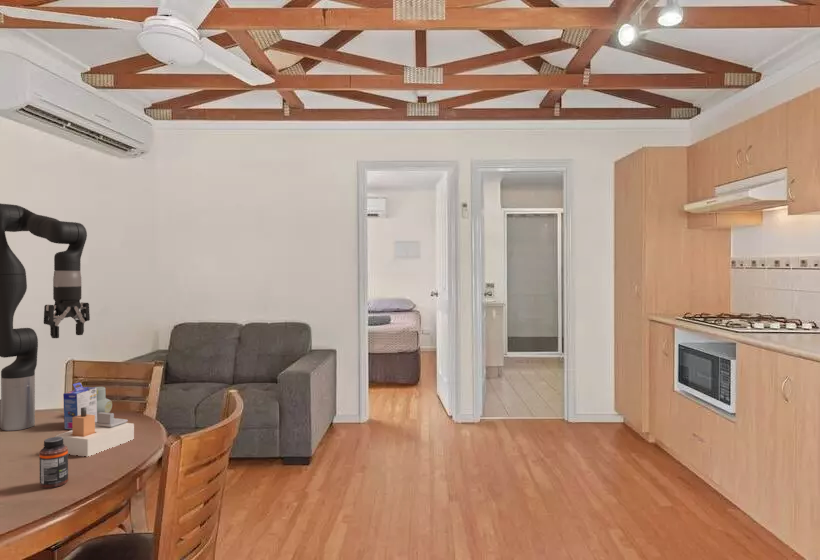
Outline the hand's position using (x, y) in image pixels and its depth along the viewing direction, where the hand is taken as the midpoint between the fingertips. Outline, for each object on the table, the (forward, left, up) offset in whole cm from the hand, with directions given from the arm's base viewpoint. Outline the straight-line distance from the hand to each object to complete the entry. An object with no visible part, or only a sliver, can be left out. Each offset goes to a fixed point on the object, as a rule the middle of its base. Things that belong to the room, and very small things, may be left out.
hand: (67, 336), depth 171 cm
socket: (+15, -4, -32) cm, 36 cm away
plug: (+15, -8, -31) cm, 35 cm away
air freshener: (-14, +24, -32) cm, 43 cm away
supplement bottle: (+30, -30, -32) cm, 53 cm away
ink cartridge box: (-8, +12, -32) cm, 35 cm away
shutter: (+15, +2, -27) cm, 31 cm away
